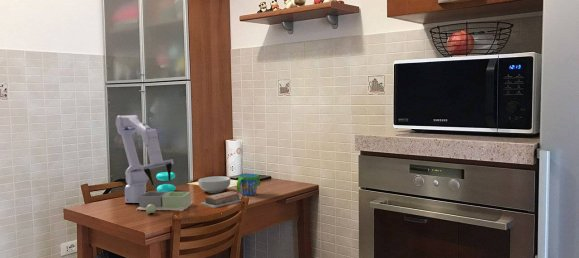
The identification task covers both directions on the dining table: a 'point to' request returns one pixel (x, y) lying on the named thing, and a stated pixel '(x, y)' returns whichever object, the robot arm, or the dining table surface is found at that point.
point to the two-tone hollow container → (166, 200)
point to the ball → (150, 208)
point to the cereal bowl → (214, 184)
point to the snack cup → (248, 184)
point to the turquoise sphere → (165, 187)
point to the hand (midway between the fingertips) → (161, 182)
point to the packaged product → (221, 199)
